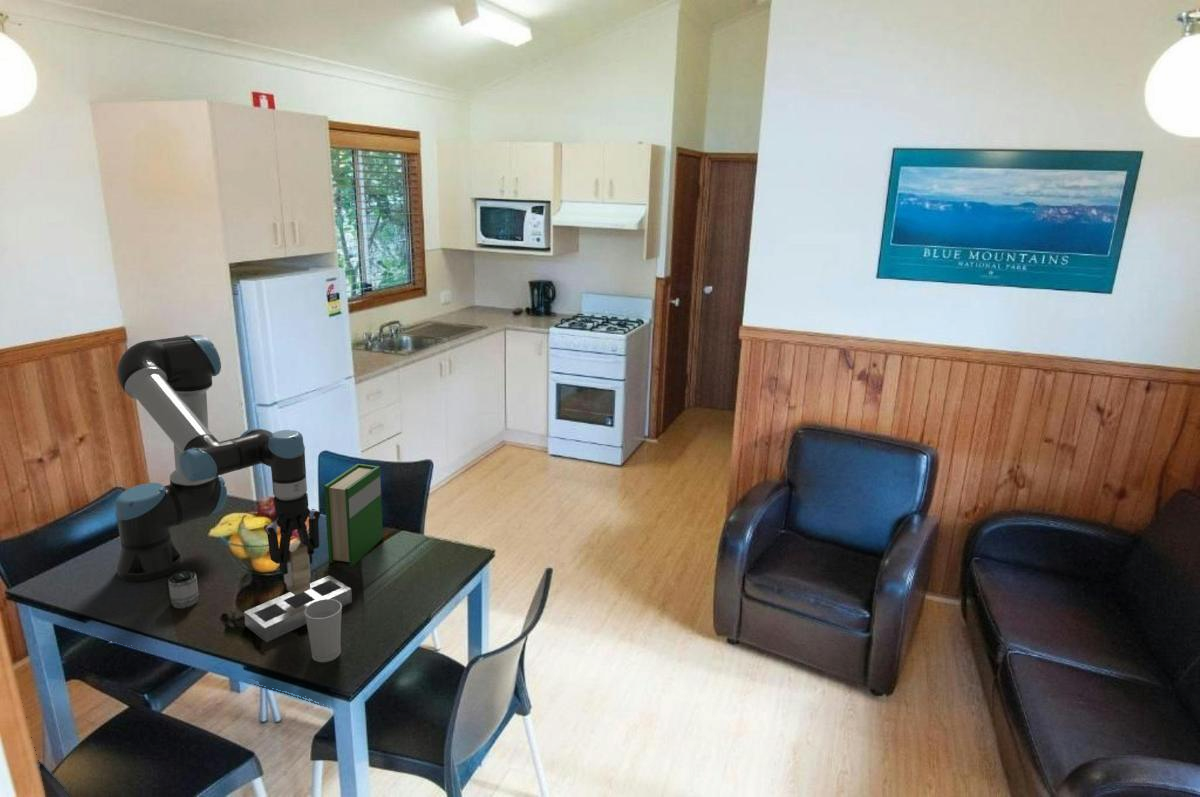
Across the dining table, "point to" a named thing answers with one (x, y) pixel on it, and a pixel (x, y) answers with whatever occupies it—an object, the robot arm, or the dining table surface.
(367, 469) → the hardback book
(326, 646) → the cup
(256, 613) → the grey slotted block
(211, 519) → the dining table surface
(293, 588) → the peg
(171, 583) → the camera lens
